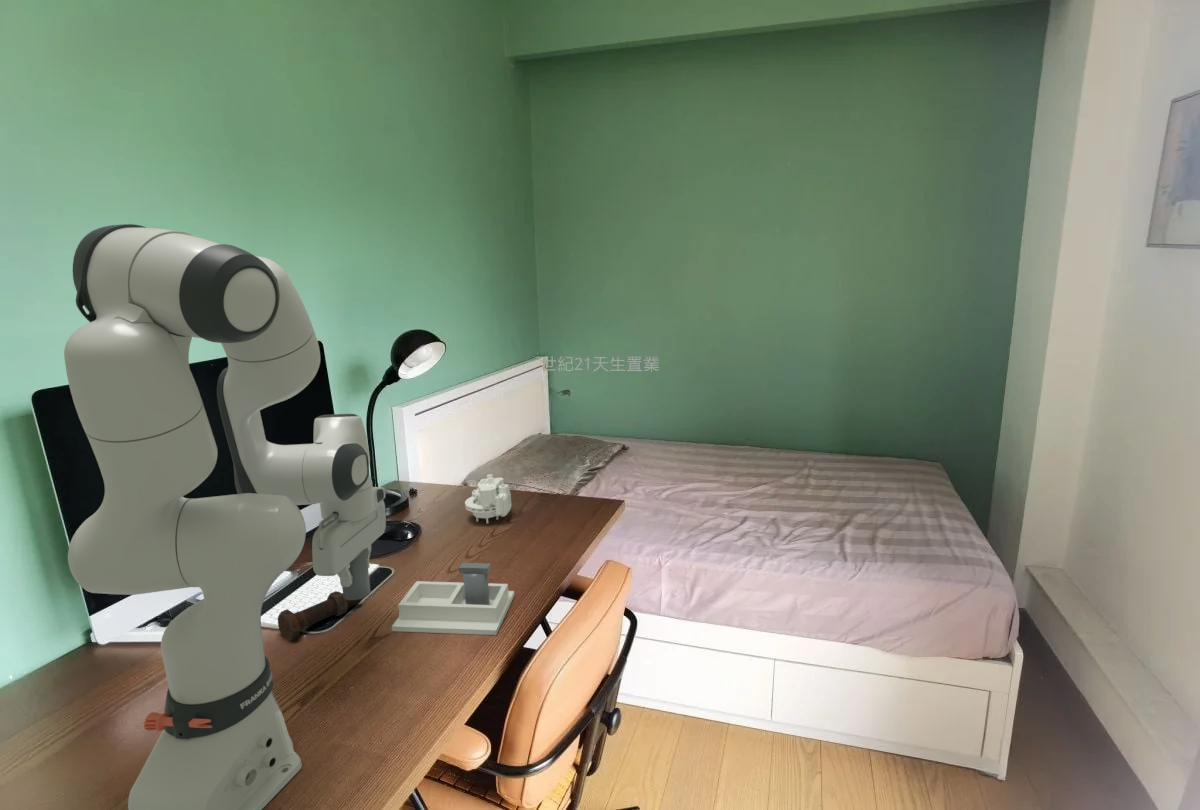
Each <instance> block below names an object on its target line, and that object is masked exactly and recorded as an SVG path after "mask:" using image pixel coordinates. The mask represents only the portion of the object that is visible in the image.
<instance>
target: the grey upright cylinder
mask: <svg viewBox="0 0 1200 810" xmlns="http://www.w3.org/2000/svg"><path fill="white" fill-rule="evenodd" d="M348 569H349V571H350V573H351V574H354V583H353V584H352V585H350V586H349V587H342V586H341V587H342V588H341V589H342V593H343V597H344V599H346V600H358V599H361V600H362V599H364V598H366V597H368V596H369V595H370V594H371V583H370V582H371V581H370V572H369V568H368V561H367V552H366V549H365V550H364V551H363V552H362V553H360V554H359V555H358V556H357V557H356V558H355V559H354V560H352V561H351V562H350V568H348Z"/></svg>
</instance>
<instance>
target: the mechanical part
mask: <svg viewBox="0 0 1200 810" xmlns="http://www.w3.org/2000/svg"><path fill="white" fill-rule="evenodd" d="M504 482H505V481H504V478H503V477H495V478H494V476H493V474H486V478H482V479H480V481H479V482H478V483H477V485H476V486H477V488H476V489H473V490H472V491H471V496H470V497H467V499H466V500H465V501H464V508H465V510H467V511H468V512H471V513H472V516H473V517H475V518H476V519H475V520H476V522H477V523H478V522H479V519H485V521H486V522H485V523H486V524H489V519H490V518H494V517H495V519H496V521H497V520H499V517H506V516H507V515H508V514H509V512H510V510H511V508H512V493H511V491H510V487H509V485H508V484H506V483H504Z"/></svg>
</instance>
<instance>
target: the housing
mask: <svg viewBox="0 0 1200 810" xmlns="http://www.w3.org/2000/svg"><path fill="white" fill-rule="evenodd" d="M491 568H492V567H491V563H484V562H483V563H482V562H462V563H461V564H460V565H459V567H458V573H459V574H462V578H463V582H459V581H458V582H456V581H455V582H454V581H453V582H452V581H421V580H420V581H415V583H414V584H413V585H412V586H411V588H409V590H408V591H407V592H406V594H405V595H404V597H403V598H402V599H401V601H400V602H399V603H398V604H397V606H398V607H397V608H398V615H399V616H398V617H397V619H396V620H395V621H394V623H393V624H392V626H391V632H399V633H400V632H402V633H403V632H404V633H405V632H407V633H429V634H430V633H431V634H432V633H433V634H437V633H438V634H452V635H453V634H458V635H480V636H481V635H483V636H497V635H498V632H499V630H500V629H501V626H502V624H503V621H504V620H505V617H506V614H507V613H508V610H509V609H510V606H511V604H512V601H513V599H514V598H515V591H513V590H509V584H508V583H491V582H490V583H489V577H488V575H489V573H490V571H491V570H492V569H491Z"/></svg>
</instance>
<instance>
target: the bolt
mask: <svg viewBox="0 0 1200 810" xmlns="http://www.w3.org/2000/svg"><path fill="white" fill-rule="evenodd" d="M361 601H362V598H361V599H358V600H346V599H344V597H343V592H341V591H336V590H335V591H333V592H330V593H329V595H328V596H327V599H326V600H324V601H321V602H319V603H316V604H314V605H312V606H309V607H307V608H304V609H303V610H300V611H296V612H293V611H291V610H289V609H287V608H286V609H284V610H282V611H280V613H279V615H278V616H277V624H278V625H277V626H278V629H279V632H280V634H281V636H282V637H283V638H284V639H285V640H287V641H289V642H293V641H294V640H295V641H296V640H297V639H298V638H299V636H300V631H303V630H304V629H306V628H309V627H310V626H312V625H314V624H316V623H318V622H320V621H323V620H325V619H327V618H330V617H331V616H334V614H335V615H337V616H339V615H342V614H344V613H345V614H347V611H348V609H349V608H352V607H354V606H356V605H358V604H360V602H361ZM345 614H344V615H345ZM342 616H343V615H342Z"/></svg>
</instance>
